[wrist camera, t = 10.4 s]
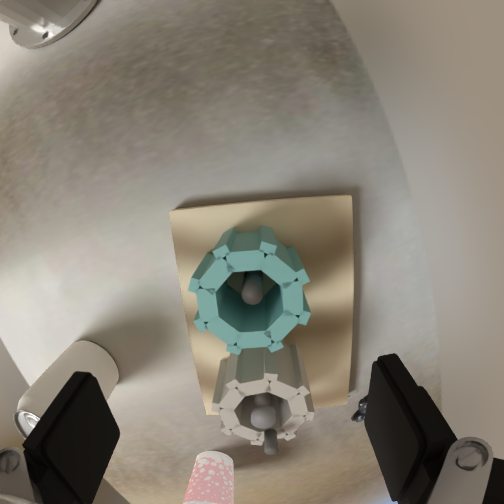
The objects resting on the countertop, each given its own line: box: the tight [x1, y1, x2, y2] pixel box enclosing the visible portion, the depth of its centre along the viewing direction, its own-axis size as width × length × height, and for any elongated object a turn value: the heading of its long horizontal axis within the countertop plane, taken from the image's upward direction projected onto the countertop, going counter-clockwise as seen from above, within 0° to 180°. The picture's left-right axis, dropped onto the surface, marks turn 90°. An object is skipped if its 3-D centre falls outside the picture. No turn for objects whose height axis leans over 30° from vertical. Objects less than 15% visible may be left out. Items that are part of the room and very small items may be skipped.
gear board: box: [169, 194, 354, 415], centre depth 25 cm, size 20×14×6 cm
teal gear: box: [188, 225, 311, 355], centre depth 22 cm, size 7×7×6 cm
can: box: [13, 341, 119, 440], centre depth 24 cm, size 6×6×12 cm
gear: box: [211, 343, 315, 455], centre depth 23 cm, size 7×7×8 cm
